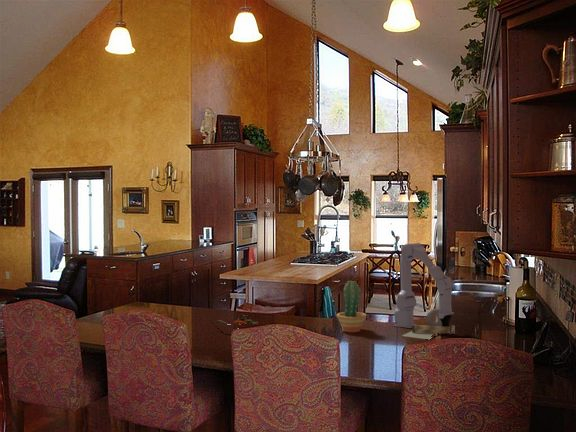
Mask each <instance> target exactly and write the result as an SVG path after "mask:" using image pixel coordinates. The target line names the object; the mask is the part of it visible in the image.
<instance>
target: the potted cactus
mask: <svg viewBox="0 0 576 432" xmlns="http://www.w3.org/2000/svg"><path fill="white" fill-rule="evenodd" d="M361 291H362V290H361V287H360V286H359V284H358V283H357V281H356V280H355V281H353V280H347V282H346V283H345V285H344V287H343V297H344V311H342V312H338V313H337V314H336V318H337V319H338V322H339V324H340V326H341V327H342V331H343V332H347V333H357V332H360V331H361V328H362V326H363V324H364V321H365V320H366V318H367V314H366V313H364V312H360V311H359V312H358V305H359V302H360V299H361V293H362V292H361Z"/></svg>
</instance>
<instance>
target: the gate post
mask: <svg viewBox="0 0 576 432" xmlns="http://www.w3.org/2000/svg"><path fill="white" fill-rule="evenodd" d="M451 334H456V326H455V325H453V324H452V325H450V335H451Z"/></svg>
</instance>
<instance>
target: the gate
mask: <svg viewBox="0 0 576 432" xmlns="http://www.w3.org/2000/svg"><path fill="white" fill-rule="evenodd" d="M411 331H412V332H419V333H439V334H445V333H450V334H451V325H449V326H448V327H447V326H442V325H441V326H429V325H419V324H418V325H417V324H416V325H412V328H411Z"/></svg>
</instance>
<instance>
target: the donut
mask: <svg viewBox="0 0 576 432" xmlns="http://www.w3.org/2000/svg"><path fill="white" fill-rule="evenodd" d="M435 316H436V320H434V317H435ZM426 323H427V326H442V322H441V320H440V318H439V308H432V309H430V310H429V311H428V312H427V314H426Z"/></svg>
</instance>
